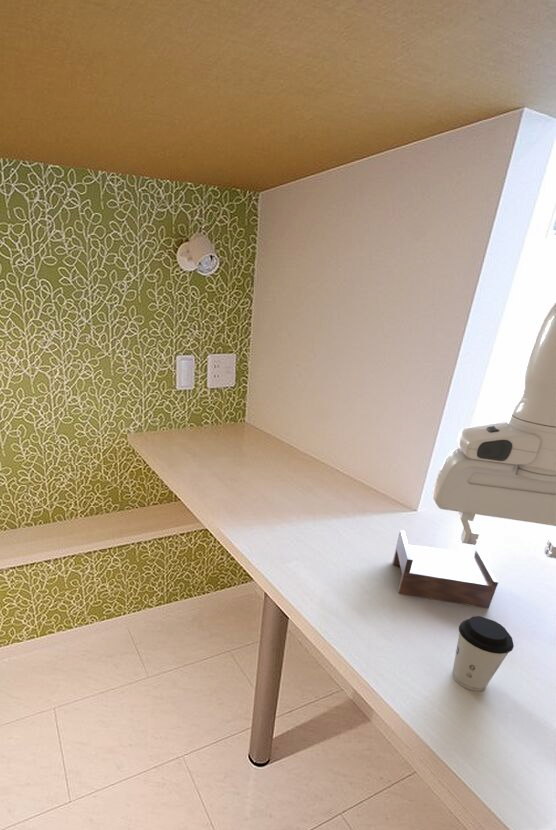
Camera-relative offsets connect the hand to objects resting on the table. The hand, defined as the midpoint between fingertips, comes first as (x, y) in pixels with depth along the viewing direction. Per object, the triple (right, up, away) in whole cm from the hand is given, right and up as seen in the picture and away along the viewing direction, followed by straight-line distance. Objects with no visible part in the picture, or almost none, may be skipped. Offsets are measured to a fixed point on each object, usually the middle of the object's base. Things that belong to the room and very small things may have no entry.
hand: (509, 549), depth 55 cm
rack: (+9, -10, +34) cm, 37 cm away
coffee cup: (+2, -21, +11) cm, 24 cm away
